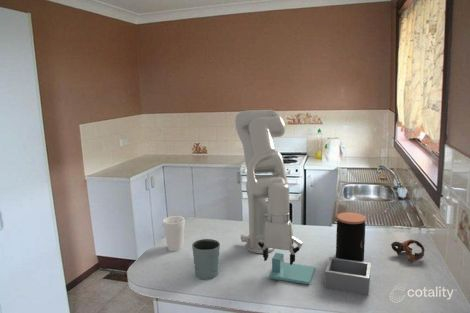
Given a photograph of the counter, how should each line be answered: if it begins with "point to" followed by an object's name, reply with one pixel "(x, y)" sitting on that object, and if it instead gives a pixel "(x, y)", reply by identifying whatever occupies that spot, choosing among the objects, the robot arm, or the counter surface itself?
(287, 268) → the teal platform with post
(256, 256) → the counter surface
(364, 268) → the tub
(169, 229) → the foam cup
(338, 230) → the coffee jar
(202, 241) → the green tapered cup
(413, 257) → the brown looped piece
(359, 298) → the counter surface
